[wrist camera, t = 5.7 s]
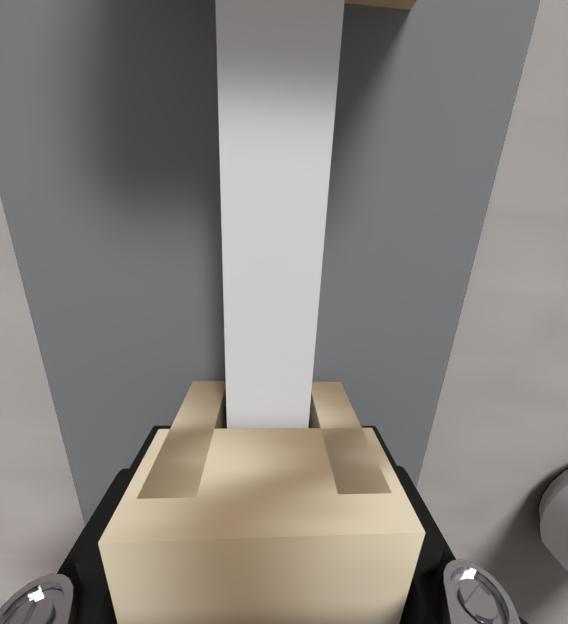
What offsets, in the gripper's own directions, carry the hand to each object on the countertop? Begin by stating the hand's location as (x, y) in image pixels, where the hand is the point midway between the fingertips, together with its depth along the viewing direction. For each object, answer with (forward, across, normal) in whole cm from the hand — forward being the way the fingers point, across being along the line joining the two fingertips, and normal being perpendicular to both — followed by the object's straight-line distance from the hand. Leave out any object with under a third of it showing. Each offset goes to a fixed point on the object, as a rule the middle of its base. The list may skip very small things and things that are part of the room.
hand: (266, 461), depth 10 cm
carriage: (+1, 0, 0) cm, 1 cm away
